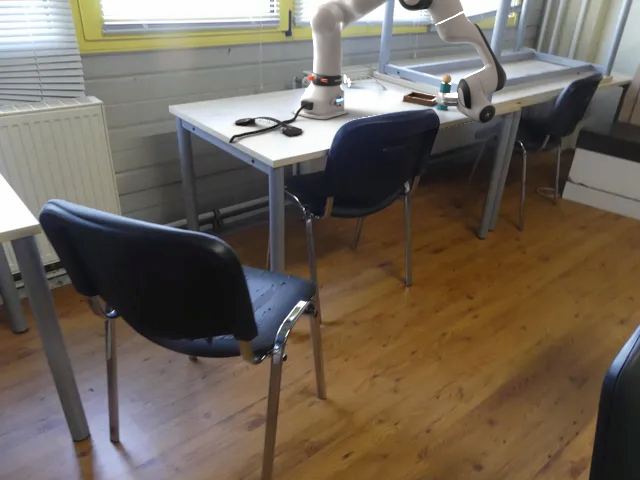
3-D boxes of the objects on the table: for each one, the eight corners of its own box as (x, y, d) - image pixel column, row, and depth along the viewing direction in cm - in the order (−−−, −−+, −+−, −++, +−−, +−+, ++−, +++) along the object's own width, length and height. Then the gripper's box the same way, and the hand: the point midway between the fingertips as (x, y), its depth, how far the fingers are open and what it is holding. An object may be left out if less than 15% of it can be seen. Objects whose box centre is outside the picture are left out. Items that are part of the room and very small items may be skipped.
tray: (431, 106, 240) (432, 101, 239) (402, 101, 244) (403, 95, 243) (439, 101, 249) (439, 96, 248) (411, 96, 253) (412, 91, 252)
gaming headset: (293, 137, 186) (293, 128, 184) (231, 124, 193) (230, 114, 192) (305, 131, 193) (306, 122, 192) (245, 118, 201) (245, 109, 199)
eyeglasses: (342, 81, 269) (343, 73, 267) (377, 82, 273) (378, 74, 271) (349, 89, 256) (350, 80, 254) (386, 90, 261) (387, 81, 259)
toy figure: (445, 111, 235) (451, 76, 228) (435, 109, 237) (441, 74, 229) (448, 109, 239) (454, 74, 231) (438, 107, 240) (444, 73, 233)
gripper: (443, 111, 215) (428, 102, 226) (488, 111, 222) (471, 102, 233) (445, 94, 212) (430, 86, 223) (491, 95, 219) (474, 87, 230)
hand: (452, 94), depth 228 cm, fingers open, 8 cm apart
